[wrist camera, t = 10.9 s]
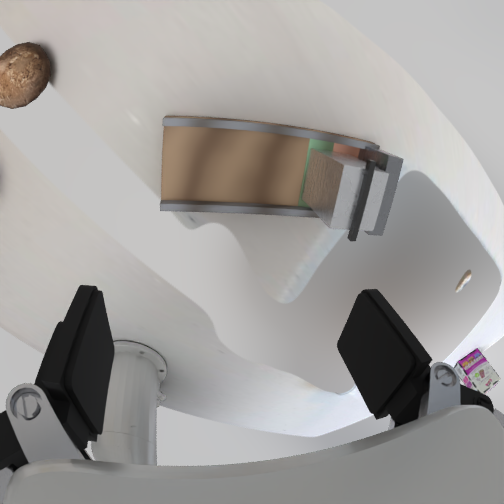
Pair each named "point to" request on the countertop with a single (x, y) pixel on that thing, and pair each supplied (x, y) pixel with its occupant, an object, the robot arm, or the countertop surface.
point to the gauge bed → (241, 165)
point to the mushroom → (23, 74)
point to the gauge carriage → (344, 190)
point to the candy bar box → (477, 372)
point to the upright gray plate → (392, 167)
